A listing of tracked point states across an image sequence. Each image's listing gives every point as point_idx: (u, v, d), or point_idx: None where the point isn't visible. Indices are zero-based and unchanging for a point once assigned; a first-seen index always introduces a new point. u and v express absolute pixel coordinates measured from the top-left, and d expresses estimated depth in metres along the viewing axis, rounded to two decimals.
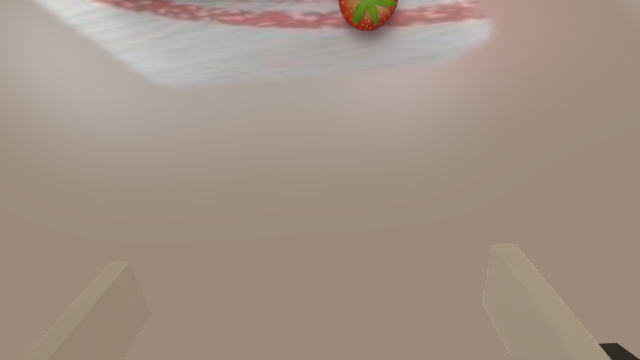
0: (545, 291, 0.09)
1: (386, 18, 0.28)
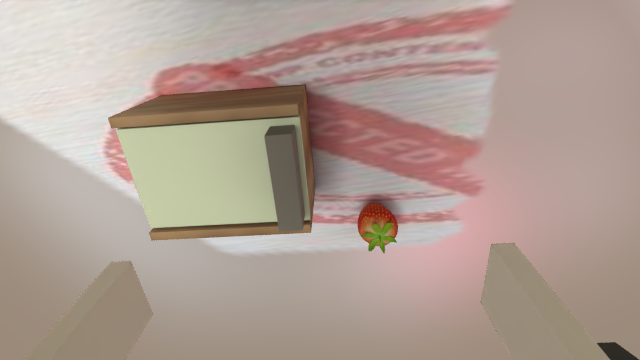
0: (543, 291, 0.09)
1: None
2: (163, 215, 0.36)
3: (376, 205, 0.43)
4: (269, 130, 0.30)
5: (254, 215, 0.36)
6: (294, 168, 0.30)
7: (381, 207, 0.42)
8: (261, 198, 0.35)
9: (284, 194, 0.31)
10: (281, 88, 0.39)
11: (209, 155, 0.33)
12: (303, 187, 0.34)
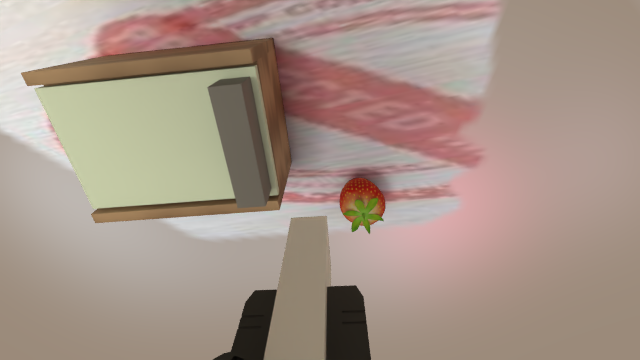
0: (318, 249, 0.12)
1: (376, 221, 0.37)
2: (106, 193, 0.31)
3: (360, 179, 0.38)
4: (216, 82, 0.24)
5: (212, 191, 0.30)
6: (248, 128, 0.24)
7: (366, 181, 0.37)
8: (218, 170, 0.29)
9: (239, 162, 0.25)
10: None
11: (151, 118, 0.27)
12: (267, 155, 0.28)
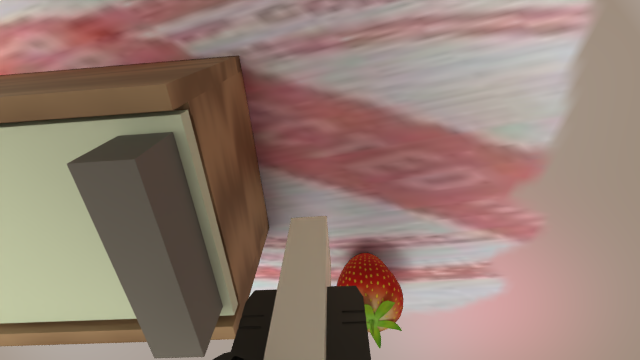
0: (319, 249, 0.12)
1: None
2: None
3: (367, 262, 0.26)
4: (101, 147, 0.13)
5: (125, 307, 0.18)
6: (160, 238, 0.12)
7: (375, 267, 0.25)
8: None
9: (148, 291, 0.14)
10: (190, 61, 0.21)
11: (3, 197, 0.15)
12: (212, 259, 0.17)
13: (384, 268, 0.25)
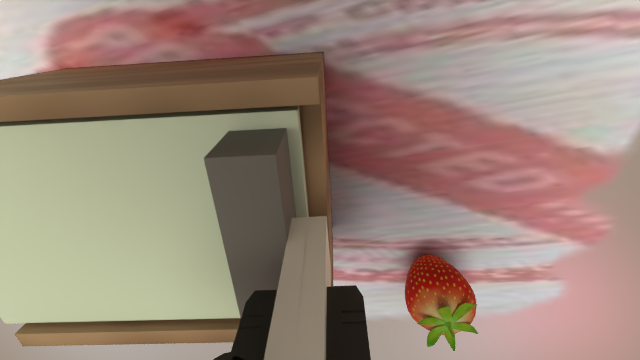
0: (318, 249, 0.12)
1: None
2: (25, 302, 0.18)
3: (437, 263, 0.25)
4: (223, 142, 0.12)
5: (205, 306, 0.18)
6: (283, 237, 0.12)
7: (448, 268, 0.25)
8: (217, 277, 0.17)
9: None
10: (279, 57, 0.21)
11: (99, 192, 0.15)
12: None
13: (456, 270, 0.25)
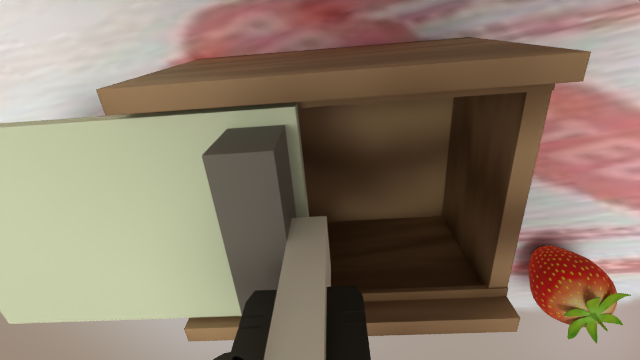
0: (318, 249, 0.12)
1: None
2: (28, 303, 0.18)
3: (569, 254, 0.25)
4: (221, 139, 0.12)
5: (207, 304, 0.18)
6: (283, 233, 0.12)
7: (583, 259, 0.24)
8: (218, 275, 0.17)
9: (260, 288, 0.13)
10: (433, 42, 0.20)
11: (99, 191, 0.15)
12: None
13: None
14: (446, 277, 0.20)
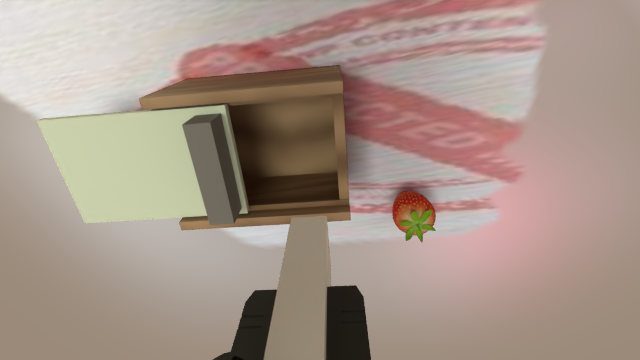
0: (319, 249, 0.12)
1: None
2: (96, 210, 0.35)
3: (412, 192, 0.41)
4: (191, 119, 0.29)
5: (190, 209, 0.34)
6: (217, 158, 0.29)
7: (418, 194, 0.40)
8: (195, 191, 0.33)
9: (210, 186, 0.30)
10: (315, 69, 0.36)
11: (136, 146, 0.31)
12: (237, 179, 0.33)
13: (423, 196, 0.41)
14: (323, 198, 0.36)
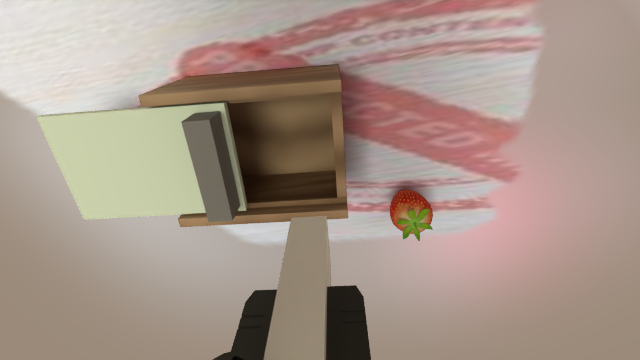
0: (319, 249, 0.12)
1: (424, 229, 0.41)
2: (95, 206, 0.35)
3: (409, 191, 0.41)
4: (190, 116, 0.29)
5: (188, 206, 0.35)
6: (216, 156, 0.29)
7: (415, 193, 0.41)
8: (194, 188, 0.34)
9: (209, 183, 0.30)
10: (314, 67, 0.37)
11: (135, 143, 0.32)
12: (235, 176, 0.33)
13: None
14: (321, 196, 0.37)
